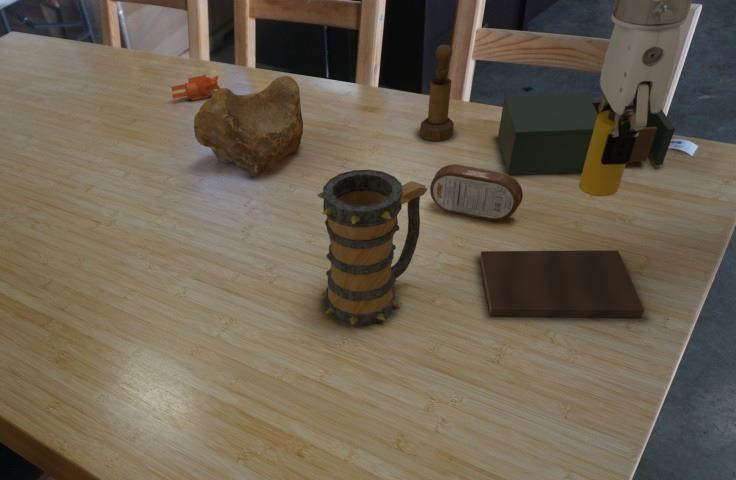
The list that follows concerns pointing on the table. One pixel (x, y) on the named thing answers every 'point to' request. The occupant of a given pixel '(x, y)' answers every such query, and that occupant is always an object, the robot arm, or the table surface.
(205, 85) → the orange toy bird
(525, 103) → the cabinet
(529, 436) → the table surface
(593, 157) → the yellow bottle
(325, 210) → the mug
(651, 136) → the drawer
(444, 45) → the mortar and pestle
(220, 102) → the rough brown rock
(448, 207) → the tin
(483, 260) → the board
